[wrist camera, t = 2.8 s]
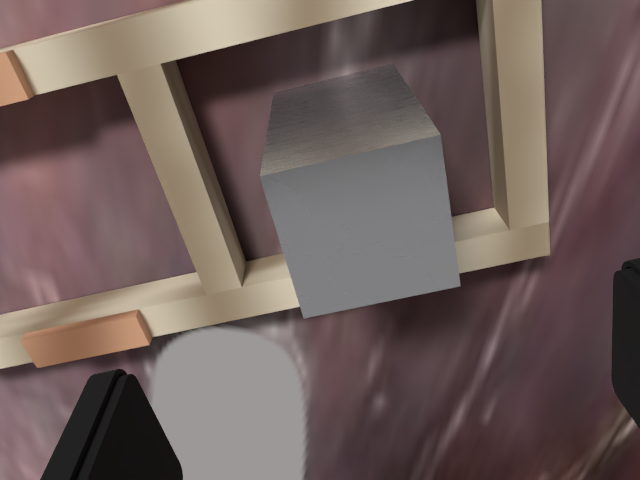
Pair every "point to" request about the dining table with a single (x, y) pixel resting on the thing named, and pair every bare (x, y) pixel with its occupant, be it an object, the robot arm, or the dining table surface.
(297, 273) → the grey rectangular block
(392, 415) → the dining table surface
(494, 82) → the wooden frame
